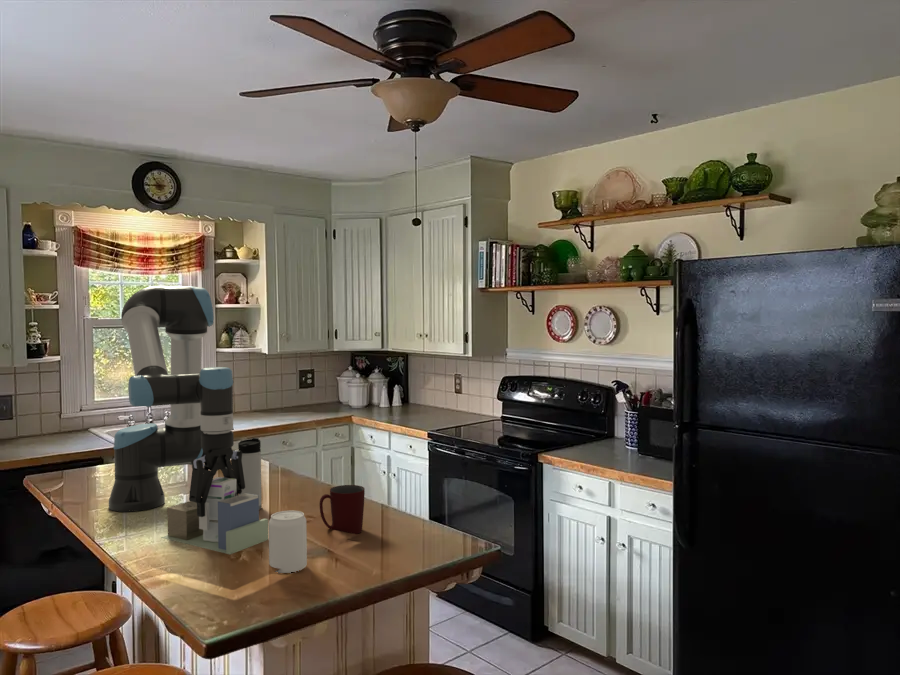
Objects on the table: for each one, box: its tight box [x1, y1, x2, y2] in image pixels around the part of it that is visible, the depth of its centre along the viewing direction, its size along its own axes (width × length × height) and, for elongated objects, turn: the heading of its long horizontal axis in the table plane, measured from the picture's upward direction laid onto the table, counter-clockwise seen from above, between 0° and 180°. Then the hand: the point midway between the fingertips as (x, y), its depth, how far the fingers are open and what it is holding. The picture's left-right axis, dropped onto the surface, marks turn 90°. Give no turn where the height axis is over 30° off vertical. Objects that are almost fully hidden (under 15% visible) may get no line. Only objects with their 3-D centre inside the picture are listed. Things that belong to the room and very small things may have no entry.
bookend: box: [166, 501, 203, 540], centre depth 176 cm, size 7×9×7 cm
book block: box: [218, 493, 260, 550], centre depth 167 cm, size 4×9×11 cm, turn 149°
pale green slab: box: [160, 518, 269, 555], centre depth 172 cm, size 24×12×6 cm, turn 59°
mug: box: [319, 484, 366, 535], centre depth 181 cm, size 12×9×11 cm
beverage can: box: [268, 510, 308, 574], centre depth 155 cm, size 8×8×12 cm
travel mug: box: [237, 437, 263, 510], centre depth 203 cm, size 6×7×20 cm
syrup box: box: [203, 476, 236, 542], centre depth 171 cm, size 6×6×14 cm
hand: (218, 524), depth 171 cm, fingers open, 8 cm apart
